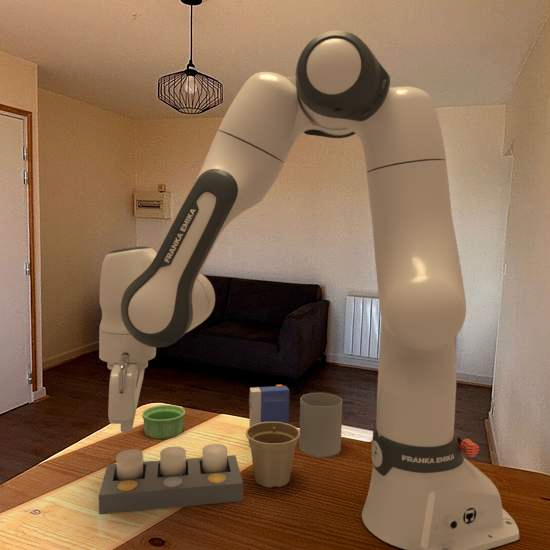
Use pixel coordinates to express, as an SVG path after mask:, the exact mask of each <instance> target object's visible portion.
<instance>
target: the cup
mask: <svg viewBox="0 0 550 550" xmlns="http://www.w3.org/2000/svg"><path fill="white" fill-rule="evenodd" d="M299 398H300V402H299V403H300V404H299V405H300V406H299V431H300V437H299V439H298V443H299V446H298V447H299V450H300V451H301V452H302V453H304V454H305V455H308V456H310V457H317V458H328V457H333V456H336V455H338V454H339V453H340V452H341V451H342V427H343V426H342V425H343V424H342V423H343V399H342V398H341V397H340V396H338V395H335V394H332V393H327V392H326V393H325V392H310V393H305V394H303V395H302V396H301V397H299Z"/></svg>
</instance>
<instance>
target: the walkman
mask: <svg viewBox="0 0 550 550" xmlns="http://www.w3.org/2000/svg"><path fill="white" fill-rule="evenodd" d="M248 408H249V427H250V426H252V425H254V424H257V423H261V422H282V423H287V424H290V418H289V417H290V389H289V388H288V387H287V386H286V385H283V384H276V385H275V386H257V387H250V388H249V395H248ZM249 427H248V428H249ZM248 445H249V448H250V449H251V446H250V444H249V443H248Z"/></svg>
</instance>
